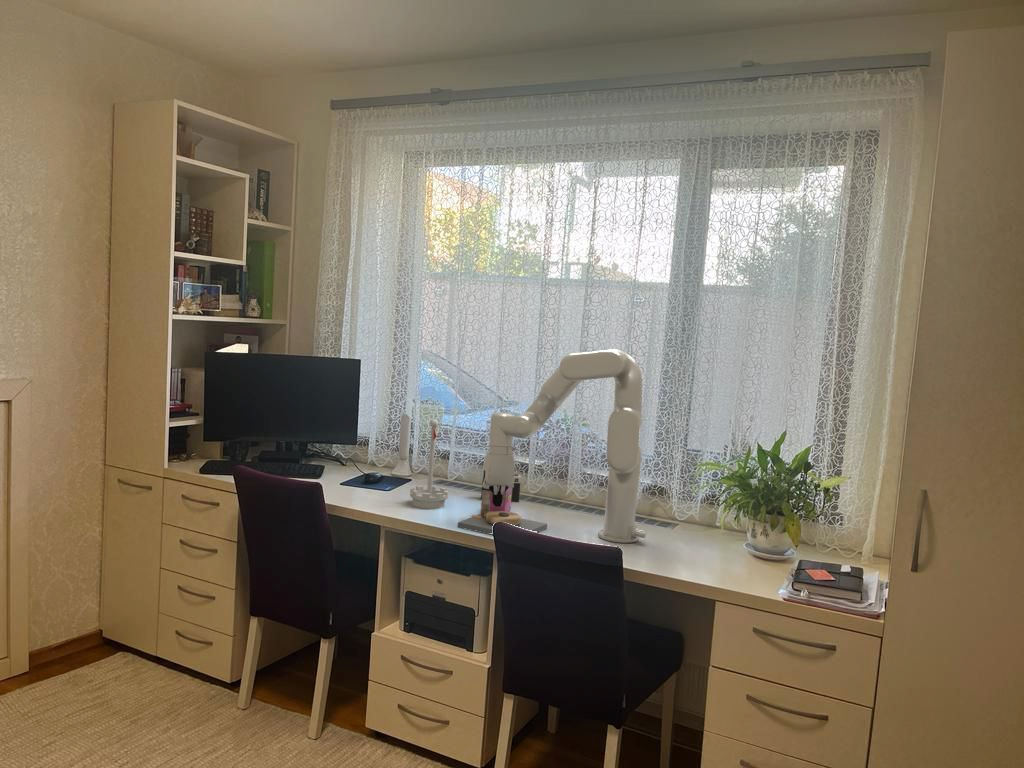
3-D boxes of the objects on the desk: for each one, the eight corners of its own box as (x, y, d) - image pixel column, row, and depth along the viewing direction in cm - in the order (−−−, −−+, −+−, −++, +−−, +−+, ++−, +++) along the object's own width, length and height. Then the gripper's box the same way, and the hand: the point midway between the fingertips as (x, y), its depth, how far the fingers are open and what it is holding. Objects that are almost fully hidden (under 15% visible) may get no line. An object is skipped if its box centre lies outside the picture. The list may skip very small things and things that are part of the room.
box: (504, 517, 269) (507, 483, 268) (488, 515, 270) (490, 481, 269) (511, 511, 279) (513, 477, 278) (495, 509, 280) (497, 475, 279)
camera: (481, 502, 288) (483, 475, 288) (480, 497, 297) (482, 470, 296) (520, 505, 289) (522, 477, 289) (518, 499, 298) (520, 473, 297)
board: (549, 527, 261) (549, 521, 261) (519, 540, 243) (519, 534, 242) (489, 514, 272) (489, 509, 271) (456, 526, 253) (456, 520, 253)
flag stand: (406, 500, 283) (411, 416, 281) (442, 500, 287) (448, 417, 285) (413, 509, 271) (419, 421, 268) (451, 509, 275) (457, 422, 272)
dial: (527, 523, 256) (529, 498, 255) (502, 527, 248) (504, 502, 247) (494, 512, 267) (496, 488, 266) (469, 516, 259) (470, 491, 259)
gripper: (517, 448, 269) (514, 502, 270) (475, 448, 263) (471, 503, 265) (525, 452, 262) (522, 507, 263) (482, 452, 256) (478, 509, 258)
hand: (496, 505), depth 264 cm, fingers closed
